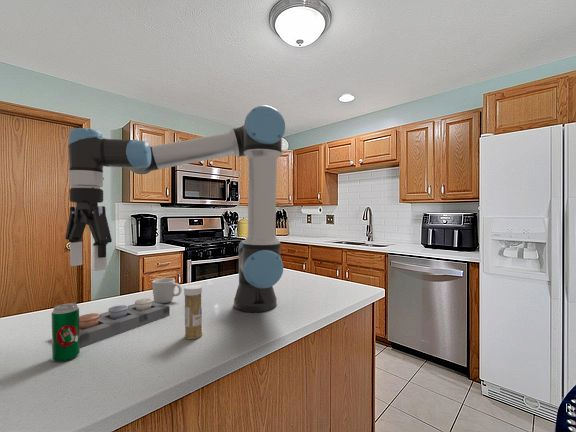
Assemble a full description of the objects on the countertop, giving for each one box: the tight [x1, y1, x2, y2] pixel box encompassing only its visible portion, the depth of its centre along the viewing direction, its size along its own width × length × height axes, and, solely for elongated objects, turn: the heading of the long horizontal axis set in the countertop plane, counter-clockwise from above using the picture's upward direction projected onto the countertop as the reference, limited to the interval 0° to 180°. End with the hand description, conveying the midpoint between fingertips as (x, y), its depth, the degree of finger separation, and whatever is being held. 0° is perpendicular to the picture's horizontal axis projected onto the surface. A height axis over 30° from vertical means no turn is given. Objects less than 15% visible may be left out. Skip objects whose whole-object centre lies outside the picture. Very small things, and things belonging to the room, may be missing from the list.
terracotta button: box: [79, 312, 101, 330], centre depth 79 cm, size 5×5×3 cm
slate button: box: [107, 304, 129, 320], centre depth 86 cm, size 5×5×3 cm
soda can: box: [51, 302, 81, 363], centre depth 67 cm, size 5×5×12 cm
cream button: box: [134, 297, 153, 311], centre depth 93 cm, size 5×5×3 cm
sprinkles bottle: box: [183, 284, 203, 340], centre depth 78 cm, size 5×5×13 cm
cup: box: [151, 277, 183, 304], centre depth 109 cm, size 11×8×8 cm
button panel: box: [79, 301, 170, 349], centre depth 86 cm, size 12×26×3 cm, turn 149°
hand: (87, 267), depth 79 cm, fingers open, 12 cm apart
